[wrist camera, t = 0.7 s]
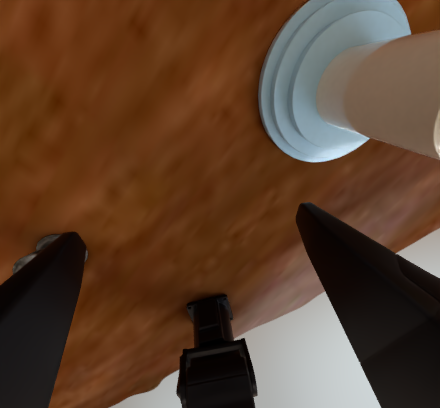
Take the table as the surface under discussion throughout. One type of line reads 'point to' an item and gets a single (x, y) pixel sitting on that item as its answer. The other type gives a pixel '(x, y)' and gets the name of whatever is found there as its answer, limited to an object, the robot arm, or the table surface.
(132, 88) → the table surface
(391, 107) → the sugar shaker
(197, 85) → the table surface
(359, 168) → the table surface
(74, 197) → the table surface
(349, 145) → the light blue stepped disc
